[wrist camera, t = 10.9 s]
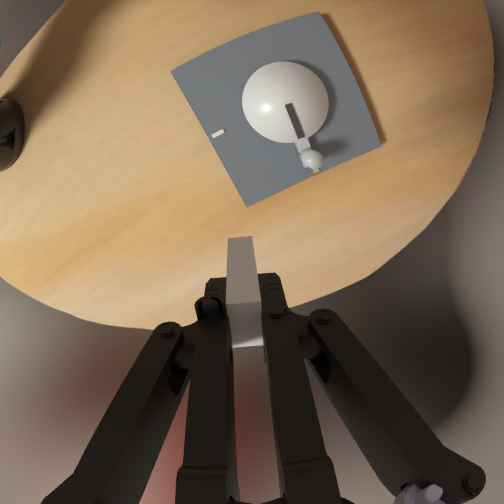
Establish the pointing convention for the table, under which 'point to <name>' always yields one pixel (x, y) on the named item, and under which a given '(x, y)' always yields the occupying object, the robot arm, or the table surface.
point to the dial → (287, 106)
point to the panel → (242, 133)
